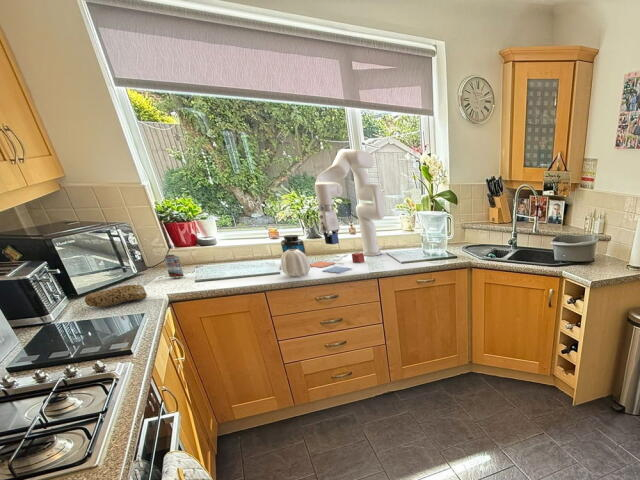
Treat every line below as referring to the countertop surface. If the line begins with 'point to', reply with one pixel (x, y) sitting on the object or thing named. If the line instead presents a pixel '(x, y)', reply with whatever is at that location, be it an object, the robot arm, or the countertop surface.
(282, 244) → the container
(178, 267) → the beverage can
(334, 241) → the blue block
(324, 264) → the red mat
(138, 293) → the sponge
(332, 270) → the blue mat
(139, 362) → the countertop surface
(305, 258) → the vase
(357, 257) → the red block
